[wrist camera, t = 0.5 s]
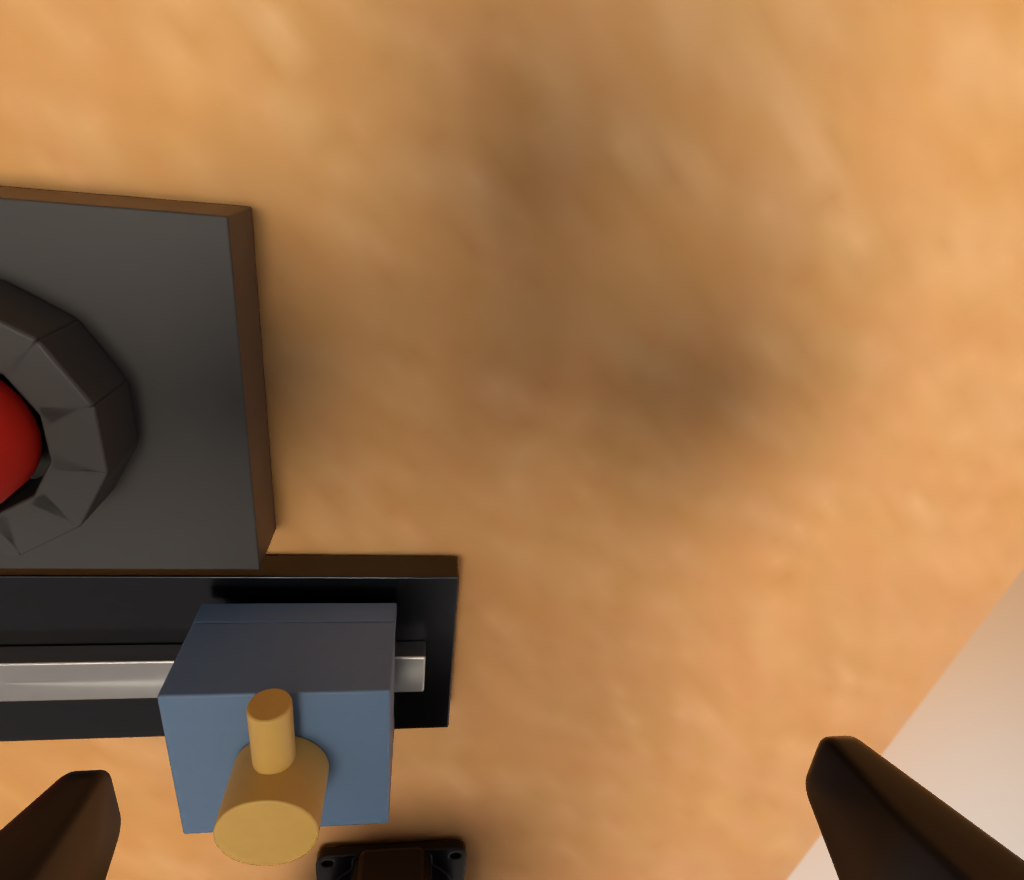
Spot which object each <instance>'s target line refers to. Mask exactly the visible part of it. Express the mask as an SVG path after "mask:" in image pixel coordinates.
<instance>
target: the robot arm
mask: <svg viewBox="0 0 1024 880" xmlns="http://www.w3.org/2000/svg"><path fill="white" fill-rule="evenodd" d="M806 791H807V795H808V799H809V801H810V804H811V807H812V809H813V812H814V815H815V817H816V820H817V822H818V825H819V828H820V830H821V833H822V836H823V838H824V841H825V843H826V846H827V849H828V851H829V854H830V857H831V859H832V862H833V864H834V867H835V870H836V872H837V875H838V878H839V880H1024V860H1022V859H1021V858H1020V857H1018V856H1017V855H1015V854H1014V853H1013V852H1011V851H1010V850H1009V849H1007V848H1006V847H1005V846H1003V845H1002V844H1000V843H999V842H998V841H996V840H995V839H994V838H992V837H991V836H990V835H988V834H987V833H985V832H984V831H983V830H981V829H980V828H979V827H977V826H976V825H974V824H973V823H972V822H970V821H969V820H968V819H966V818H965V817H964V816H962V815H961V814H960V813H958V812H957V811H955V810H954V809H953V808H951V807H950V806H949V805H947V804H946V803H945V802H943V801H942V800H940V799H939V798H938V797H936V796H935V795H934V794H932V793H931V792H930V791H928V790H927V789H925V788H924V787H923V786H921V785H920V784H919V783H917V782H916V781H914V780H913V779H912V778H910V777H909V776H908V775H906V774H905V773H904V772H902V771H901V770H900V769H898V768H897V767H895V766H894V765H893V764H891V763H890V762H889V761H887V760H886V759H885V758H883V757H882V756H880V755H879V754H878V753H876V752H875V751H874V750H872V749H871V748H870V747H868V746H867V745H865V744H864V743H863V742H861V741H860V740H858V739H856V738H854V737H851V736H832V737H825V738H823V739H822V740H821V741H820V743H819V745H818V747H817V750H816V752H815V755H814V758H813V760H812V763H811V766H810V768H809V771H808V773H807V776H806ZM120 825H121V817H120V812H119V808H118V803H117V799H116V795H115V791H114V787H113V783H112V779H111V777H110V774H109V773H108V772H106V771H104V770H90V771H74V772H70V773H68V774H66V775H64V776H62V777H61V778H60V779H59V780H57V781H56V782H55V783H54V784H53V785H52V786H51V787H49V788H48V789H47V790H46V791H45V792H44V793H43V794H41V795H40V796H39V797H38V798H37V799H36V800H35V801H33V802H32V803H31V804H30V805H29V806H28V807H27V808H25V809H24V810H23V811H22V812H21V813H20V814H19V815H17V816H16V817H15V818H14V819H13V820H12V821H11V822H10V823H8V824H7V825H6V826H5V827H4V828H3V829H2V830H0V880H105V879H106V876H107V873H108V869H109V866H110V863H111V860H112V857H113V854H114V850H115V847H116V844H117V841H118V837H119V832H120ZM465 863H466V845H465V843H464V842H463V841H460V840H445V841H427V842H410V843H393V844H376V845H358V846H341V847H327V848H323V849H321V850H320V851H319V852H318V854H317V860H316V875H317V880H464V873H465Z"/></svg>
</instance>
